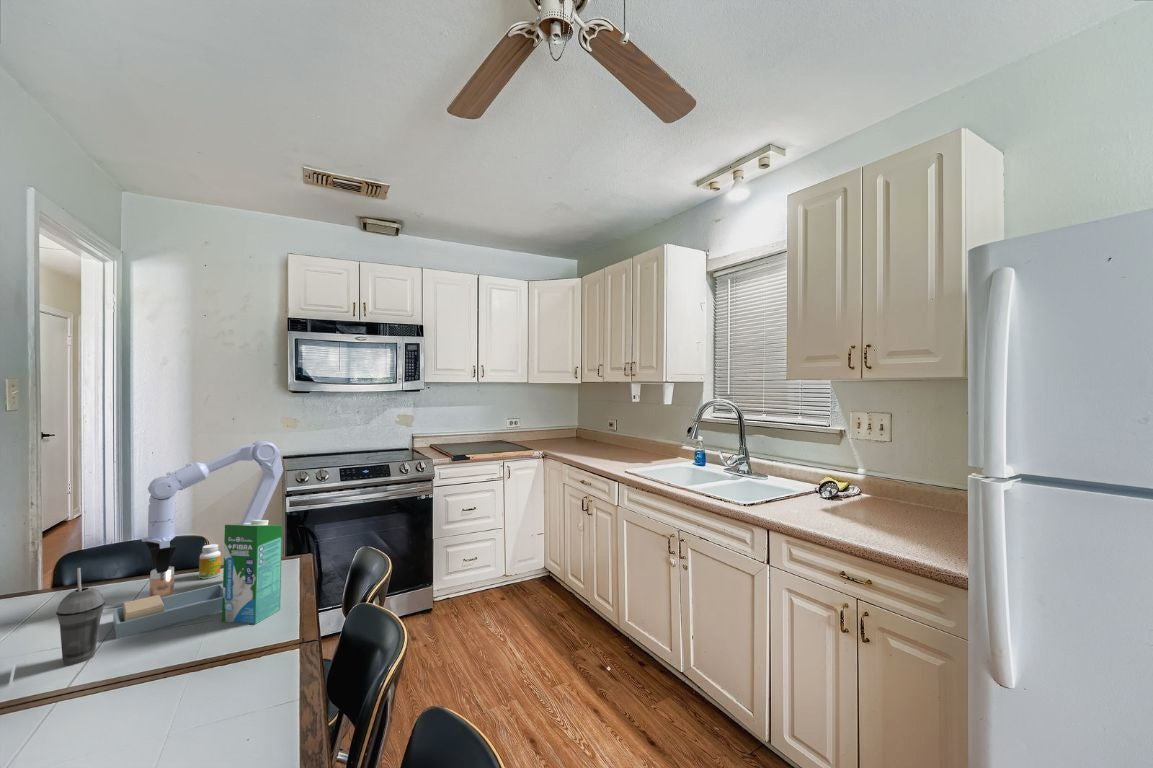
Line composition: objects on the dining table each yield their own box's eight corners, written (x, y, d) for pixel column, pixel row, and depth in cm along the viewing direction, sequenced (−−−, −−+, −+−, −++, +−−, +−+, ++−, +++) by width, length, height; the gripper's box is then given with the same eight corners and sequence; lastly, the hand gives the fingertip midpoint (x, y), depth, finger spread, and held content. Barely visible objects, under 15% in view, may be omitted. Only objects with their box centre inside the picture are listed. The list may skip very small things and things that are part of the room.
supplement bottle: (206, 580, 146) (207, 549, 146) (194, 578, 148) (195, 547, 148) (224, 574, 151) (225, 544, 152) (212, 572, 153) (213, 542, 153)
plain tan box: (159, 613, 122) (159, 594, 122) (163, 624, 116) (164, 604, 116) (121, 622, 117) (122, 602, 117) (124, 634, 111) (125, 613, 111)
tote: (221, 597, 133) (221, 583, 133) (230, 610, 125) (231, 595, 125) (113, 624, 117) (113, 608, 117) (116, 641, 109) (116, 624, 109)
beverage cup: (70, 673, 96) (74, 575, 97) (44, 669, 98) (48, 573, 98) (111, 654, 103) (115, 563, 104) (86, 651, 105) (90, 561, 105)
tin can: (172, 596, 134) (173, 564, 134) (174, 601, 131) (175, 569, 131) (148, 602, 130) (149, 569, 131) (150, 607, 127) (151, 574, 127)
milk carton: (280, 609, 126) (282, 516, 127) (254, 625, 117) (257, 525, 118) (249, 607, 127) (252, 515, 128) (221, 623, 118) (224, 524, 119)
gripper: (139, 518, 133) (138, 566, 132) (145, 527, 123) (143, 579, 123) (172, 513, 138) (171, 559, 138) (180, 522, 128) (178, 572, 128)
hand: (160, 568), depth 130 cm, fingers open, 7 cm apart
